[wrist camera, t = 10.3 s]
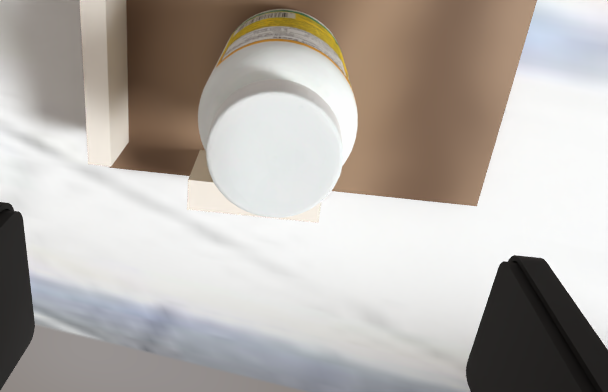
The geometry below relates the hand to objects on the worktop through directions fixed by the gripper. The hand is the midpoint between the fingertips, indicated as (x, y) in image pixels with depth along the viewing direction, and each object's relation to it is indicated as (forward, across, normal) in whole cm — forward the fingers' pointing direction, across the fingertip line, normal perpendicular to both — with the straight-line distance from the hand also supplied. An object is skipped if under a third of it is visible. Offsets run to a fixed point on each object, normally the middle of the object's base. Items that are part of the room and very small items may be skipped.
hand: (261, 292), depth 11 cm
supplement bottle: (+17, 0, 0) cm, 17 cm away
